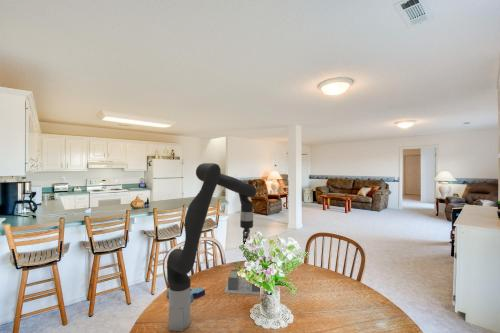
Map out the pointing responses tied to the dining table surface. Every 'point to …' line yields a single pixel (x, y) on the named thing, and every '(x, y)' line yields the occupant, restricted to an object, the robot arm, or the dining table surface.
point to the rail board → (235, 287)
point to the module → (244, 282)
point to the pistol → (194, 293)
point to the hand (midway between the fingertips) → (246, 246)
